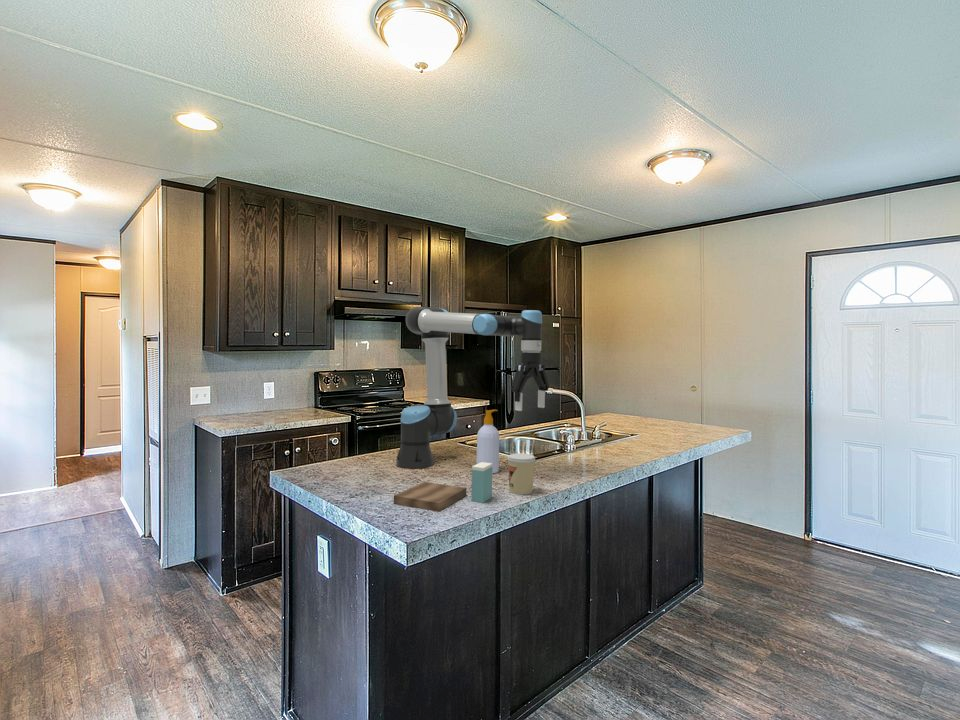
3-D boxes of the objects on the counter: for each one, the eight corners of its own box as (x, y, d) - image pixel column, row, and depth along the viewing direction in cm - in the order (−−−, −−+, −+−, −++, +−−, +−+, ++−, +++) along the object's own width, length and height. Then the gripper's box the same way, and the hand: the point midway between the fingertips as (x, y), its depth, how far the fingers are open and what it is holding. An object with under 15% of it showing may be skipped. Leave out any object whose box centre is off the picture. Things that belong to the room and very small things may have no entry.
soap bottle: (504, 471, 202) (505, 410, 201) (488, 475, 195) (489, 412, 194) (488, 467, 208) (489, 408, 207) (471, 471, 201) (472, 410, 200)
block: (471, 501, 163) (471, 466, 162) (480, 495, 169) (481, 462, 169) (482, 503, 161) (483, 468, 161) (491, 497, 167) (492, 463, 167)
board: (393, 503, 159) (393, 495, 159) (424, 489, 175) (424, 481, 175) (438, 511, 152) (439, 503, 152) (466, 495, 168) (466, 488, 168)
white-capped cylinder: (505, 487, 178) (505, 453, 178) (531, 487, 179) (532, 453, 179) (508, 495, 169) (509, 459, 169) (537, 495, 170) (537, 459, 170)
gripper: (517, 352, 180) (516, 412, 181) (559, 352, 198) (557, 407, 199) (501, 351, 185) (500, 410, 186) (543, 351, 204) (542, 405, 204)
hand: (530, 409), depth 193 cm, fingers open, 13 cm apart
